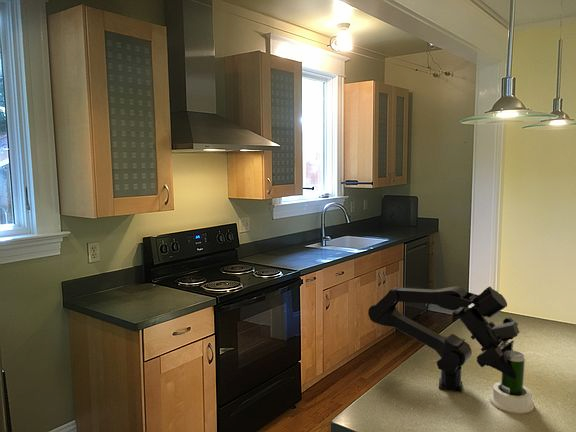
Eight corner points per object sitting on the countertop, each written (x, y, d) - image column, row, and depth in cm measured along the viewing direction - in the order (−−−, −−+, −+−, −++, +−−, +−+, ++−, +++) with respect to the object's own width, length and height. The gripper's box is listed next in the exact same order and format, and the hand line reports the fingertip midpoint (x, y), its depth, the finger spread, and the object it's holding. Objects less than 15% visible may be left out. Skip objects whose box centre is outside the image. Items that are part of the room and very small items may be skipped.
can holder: (488, 391, 138) (489, 378, 138) (531, 397, 134) (531, 383, 134) (490, 409, 128) (491, 395, 127) (536, 417, 124) (537, 402, 124)
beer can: (516, 402, 127) (519, 359, 126) (496, 395, 131) (499, 353, 130) (525, 396, 131) (528, 354, 129) (506, 389, 135) (509, 348, 133)
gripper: (492, 319, 123) (536, 372, 118) (508, 302, 138) (549, 348, 133) (459, 341, 129) (500, 392, 123) (479, 322, 144) (516, 367, 138)
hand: (518, 374), depth 129 cm, fingers closed on beer can, 5 cm apart
